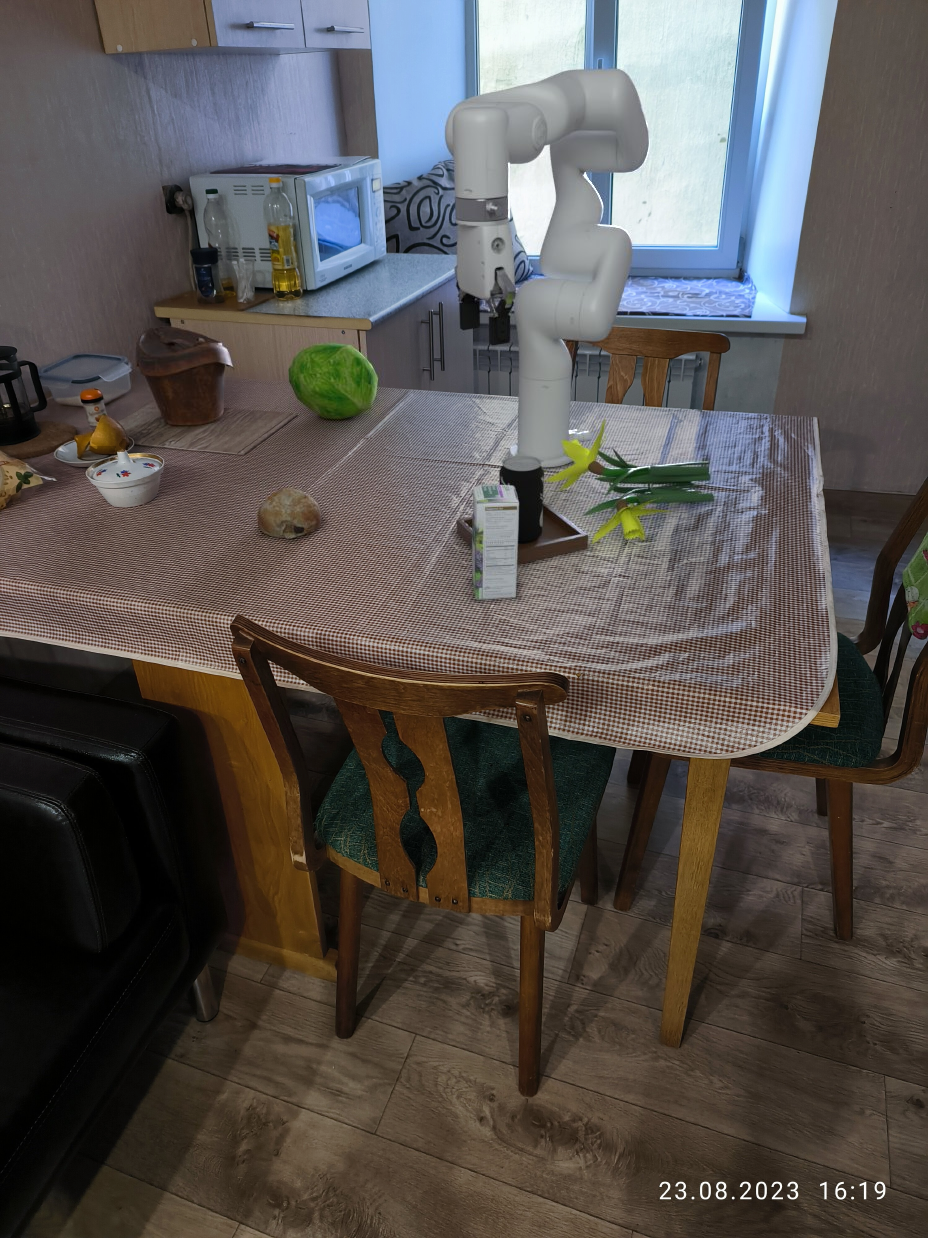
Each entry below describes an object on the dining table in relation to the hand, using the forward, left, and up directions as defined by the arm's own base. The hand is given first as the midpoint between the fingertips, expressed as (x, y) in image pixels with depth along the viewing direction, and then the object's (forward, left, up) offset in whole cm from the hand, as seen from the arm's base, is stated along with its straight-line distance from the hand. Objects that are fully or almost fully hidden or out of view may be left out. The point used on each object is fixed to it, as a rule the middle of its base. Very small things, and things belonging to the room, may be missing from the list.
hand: (484, 335), depth 128 cm
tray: (0, +14, -28) cm, 31 cm away
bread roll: (+31, -7, -28) cm, 43 cm away
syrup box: (+11, +26, -28) cm, 39 cm away
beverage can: (0, +14, -27) cm, 30 cm away
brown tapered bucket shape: (+36, -70, -28) cm, 84 cm away
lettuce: (+8, -57, -28) cm, 64 cm away
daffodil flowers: (-20, +16, -28) cm, 38 cm away
